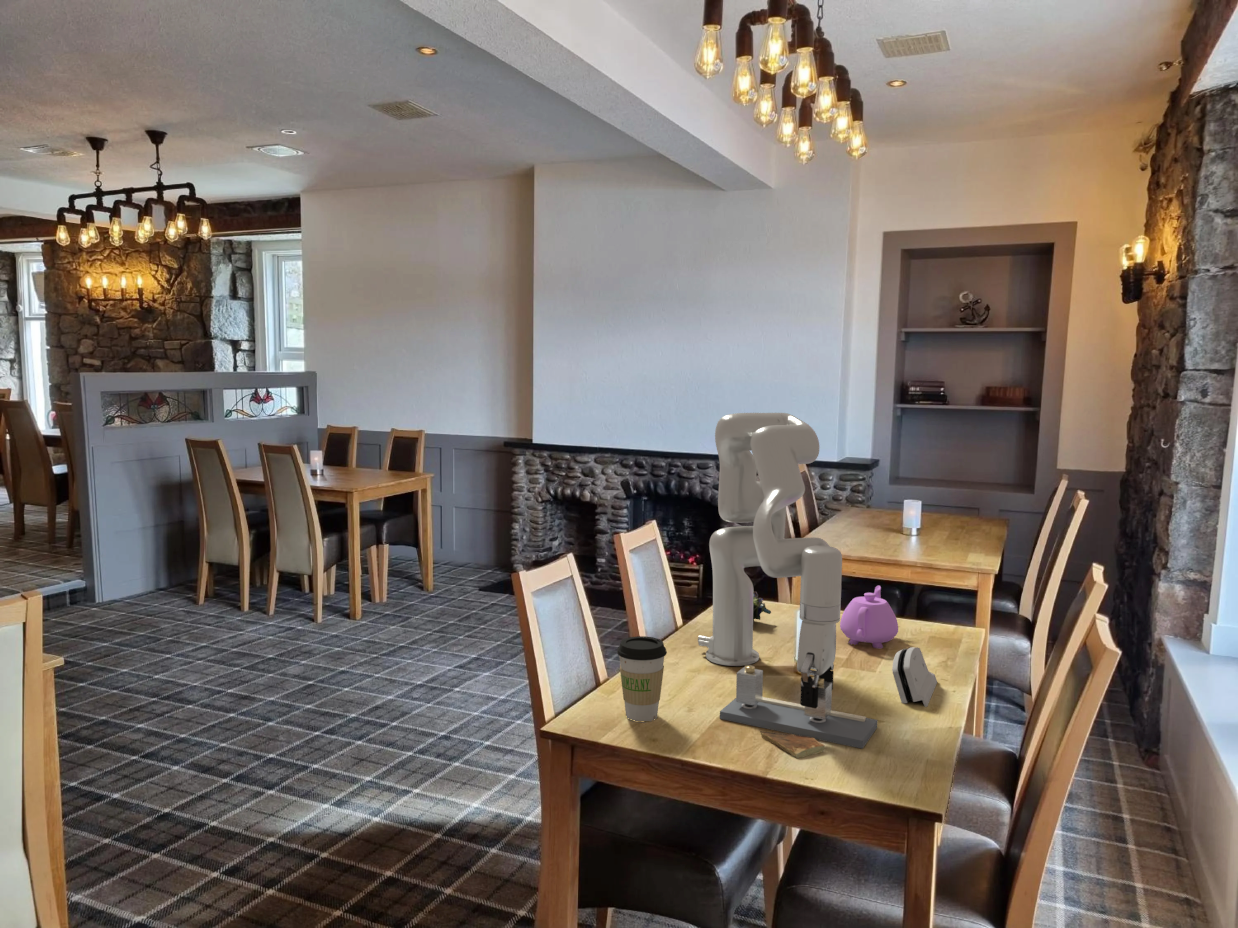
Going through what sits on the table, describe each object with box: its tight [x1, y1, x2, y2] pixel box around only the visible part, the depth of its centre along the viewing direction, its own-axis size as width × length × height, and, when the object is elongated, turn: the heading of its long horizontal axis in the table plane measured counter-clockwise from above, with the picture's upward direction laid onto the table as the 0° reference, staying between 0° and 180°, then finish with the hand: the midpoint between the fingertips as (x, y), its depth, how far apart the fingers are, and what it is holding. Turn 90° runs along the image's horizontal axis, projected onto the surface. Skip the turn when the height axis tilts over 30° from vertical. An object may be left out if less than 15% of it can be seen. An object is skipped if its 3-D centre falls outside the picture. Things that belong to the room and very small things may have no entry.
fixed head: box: [735, 664, 764, 706], centre depth 175 cm, size 4×4×8 cm
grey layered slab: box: [891, 646, 938, 708], centre depth 187 cm, size 17×5×10 cm, turn 153°
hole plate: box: [719, 696, 878, 750], centre depth 170 cm, size 28×11×2 cm, turn 60°
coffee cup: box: [616, 635, 668, 722], centre depth 173 cm, size 10×10×15 cm
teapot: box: [839, 585, 899, 649], centre depth 222 cm, size 20×14×12 cm
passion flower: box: [753, 591, 772, 622], centre depth 237 cm, size 11×11×12 cm
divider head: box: [804, 677, 833, 720], centre depth 168 cm, size 4×4×8 cm
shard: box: [759, 730, 826, 759], centre depth 161 cm, size 11×8×2 cm
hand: (816, 697), depth 169 cm, fingers open, 9 cm apart
